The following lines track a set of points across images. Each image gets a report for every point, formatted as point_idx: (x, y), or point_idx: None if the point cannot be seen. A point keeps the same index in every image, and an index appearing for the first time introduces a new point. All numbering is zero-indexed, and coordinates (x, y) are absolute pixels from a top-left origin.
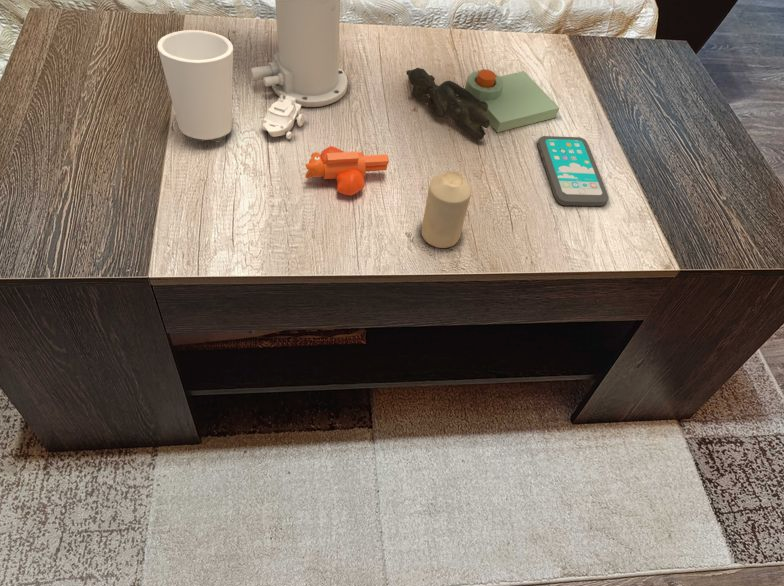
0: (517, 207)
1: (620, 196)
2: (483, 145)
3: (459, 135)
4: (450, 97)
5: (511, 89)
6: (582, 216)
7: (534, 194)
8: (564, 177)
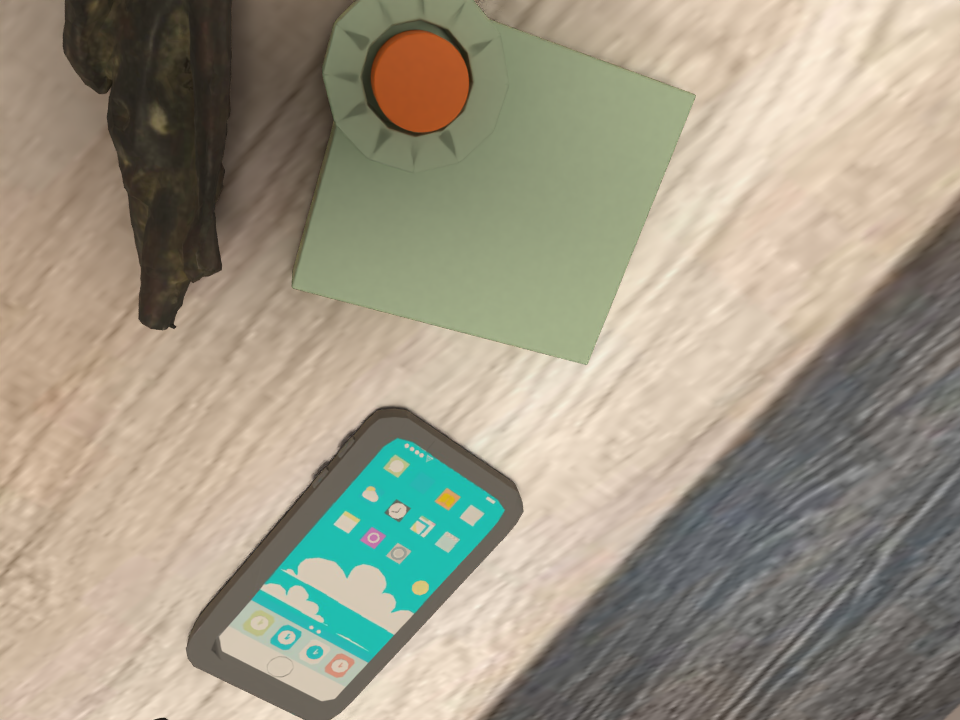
0: (43, 582)
1: (399, 704)
2: None
3: None
4: (139, 71)
5: (528, 156)
6: (216, 703)
7: (150, 571)
8: (283, 599)
